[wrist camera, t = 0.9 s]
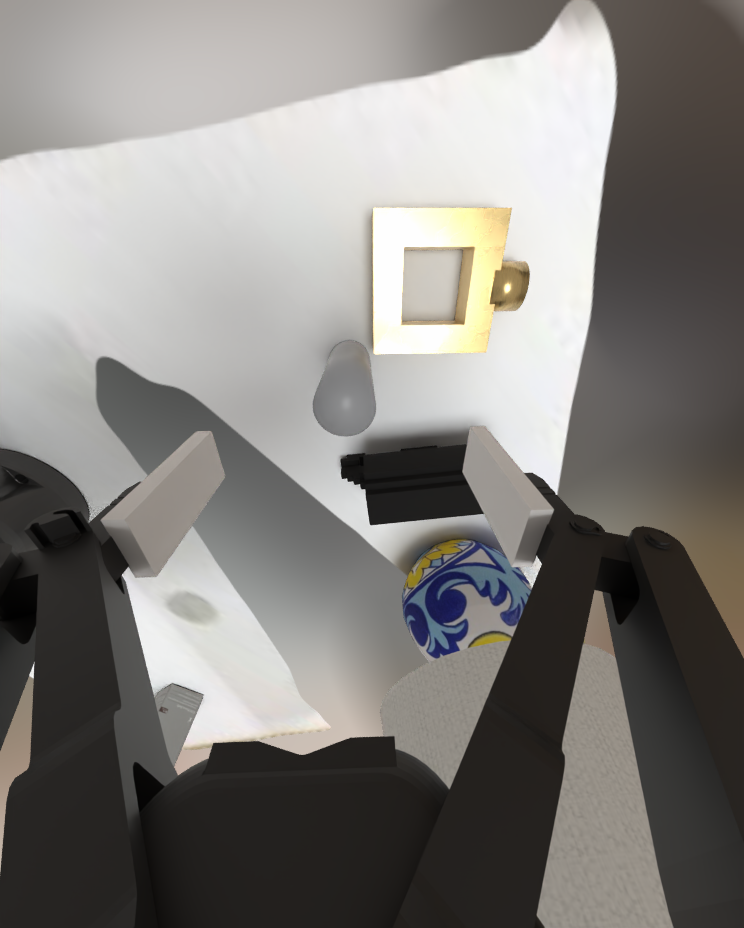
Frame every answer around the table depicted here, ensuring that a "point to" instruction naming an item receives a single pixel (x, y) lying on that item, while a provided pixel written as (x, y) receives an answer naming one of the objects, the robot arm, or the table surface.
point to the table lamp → (584, 743)
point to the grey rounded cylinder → (346, 391)
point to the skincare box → (176, 716)
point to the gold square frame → (479, 286)
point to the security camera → (413, 484)
